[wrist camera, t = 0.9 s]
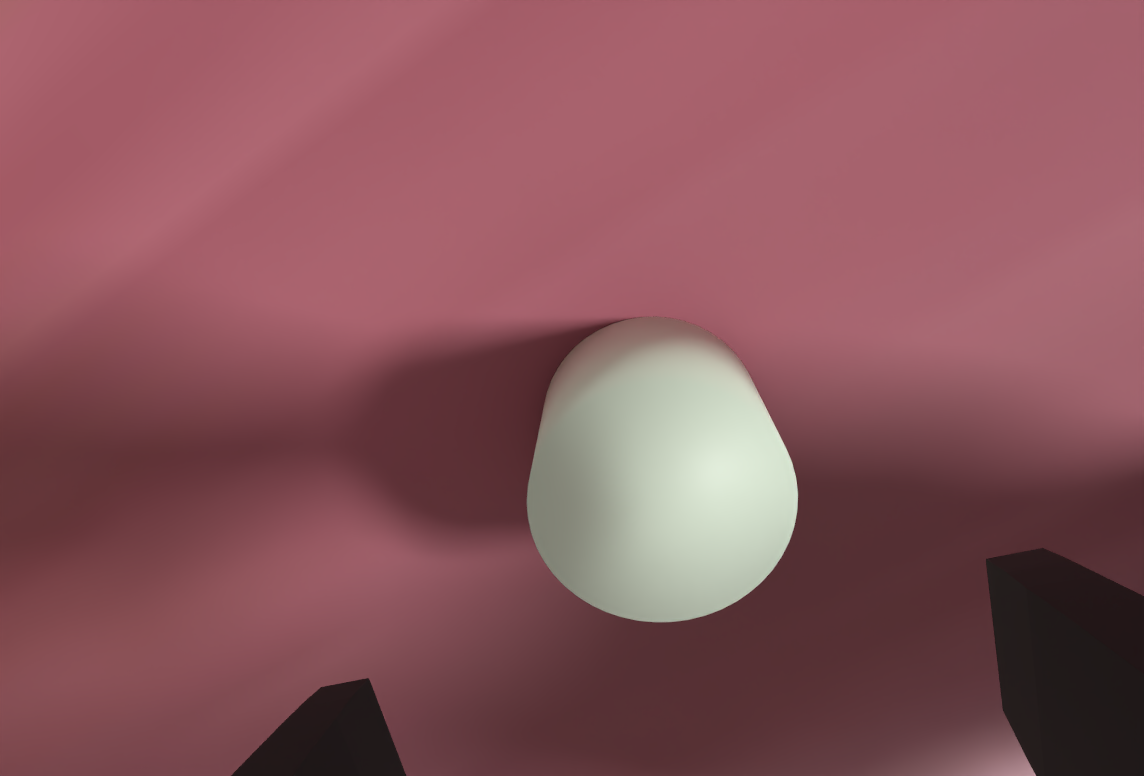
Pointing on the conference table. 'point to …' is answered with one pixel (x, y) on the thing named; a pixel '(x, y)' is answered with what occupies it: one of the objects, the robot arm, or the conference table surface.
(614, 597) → the sage capsule
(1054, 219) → the conference table surface
